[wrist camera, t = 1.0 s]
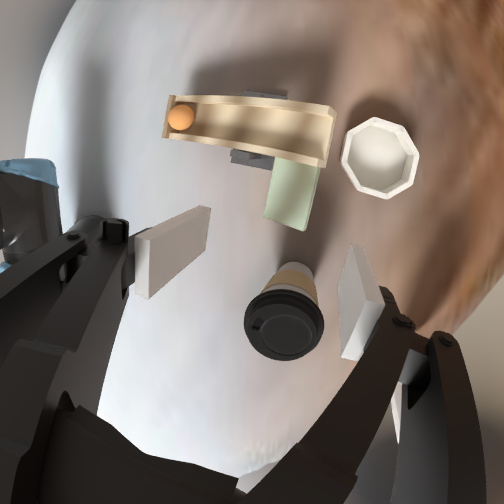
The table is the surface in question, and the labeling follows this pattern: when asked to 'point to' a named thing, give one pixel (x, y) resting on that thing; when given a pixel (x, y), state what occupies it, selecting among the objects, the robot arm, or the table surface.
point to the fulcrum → (252, 157)
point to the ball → (181, 117)
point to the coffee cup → (285, 315)
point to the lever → (267, 143)
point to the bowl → (379, 158)
